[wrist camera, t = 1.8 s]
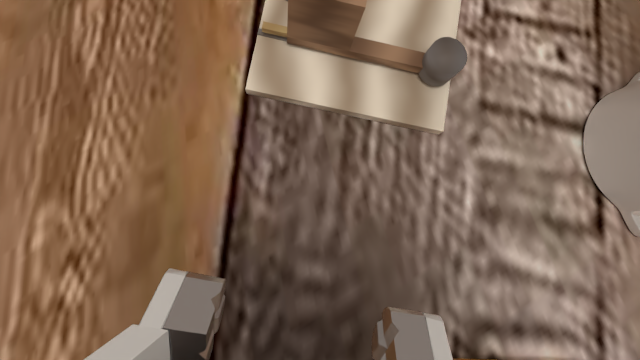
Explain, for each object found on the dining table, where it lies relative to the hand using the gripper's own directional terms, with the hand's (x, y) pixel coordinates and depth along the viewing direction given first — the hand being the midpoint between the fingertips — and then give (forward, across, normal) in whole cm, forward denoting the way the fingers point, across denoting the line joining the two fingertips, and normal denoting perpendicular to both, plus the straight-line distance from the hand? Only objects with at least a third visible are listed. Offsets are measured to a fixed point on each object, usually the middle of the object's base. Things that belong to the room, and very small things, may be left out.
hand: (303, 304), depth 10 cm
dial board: (+34, -3, 0) cm, 35 cm away
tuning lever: (+30, -3, +1) cm, 31 cm away
